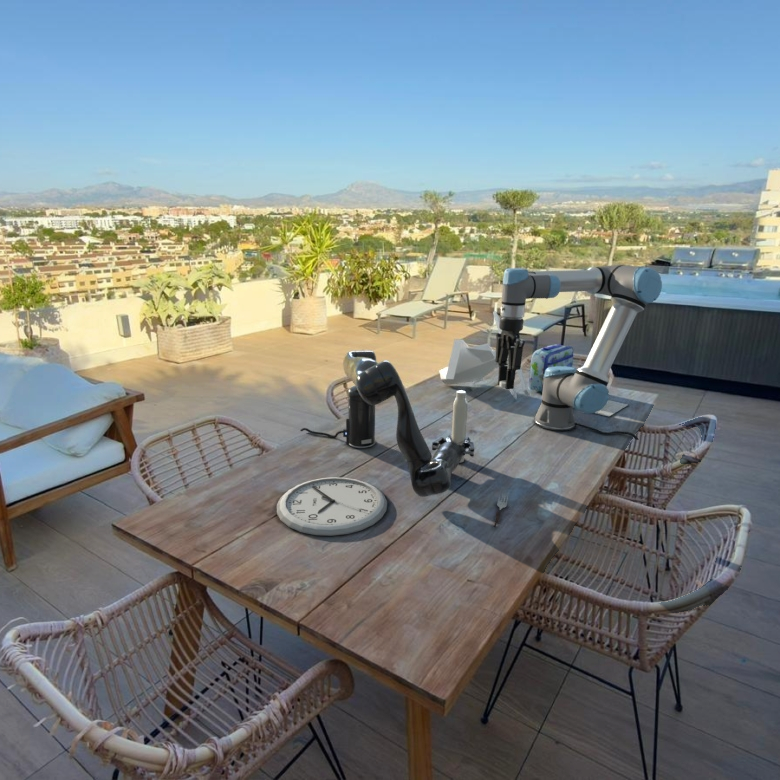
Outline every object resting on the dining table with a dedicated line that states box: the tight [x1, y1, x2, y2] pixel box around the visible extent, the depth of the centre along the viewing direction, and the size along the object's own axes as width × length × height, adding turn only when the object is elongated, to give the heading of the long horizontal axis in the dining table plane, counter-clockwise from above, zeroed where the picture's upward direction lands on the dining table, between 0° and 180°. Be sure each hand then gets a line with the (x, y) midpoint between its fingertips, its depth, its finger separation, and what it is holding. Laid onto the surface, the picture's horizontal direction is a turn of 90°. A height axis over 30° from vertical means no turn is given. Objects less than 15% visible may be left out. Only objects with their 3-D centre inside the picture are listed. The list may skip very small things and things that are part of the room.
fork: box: [493, 493, 509, 528], centre depth 139 cm, size 3×16×2 cm, turn 160°
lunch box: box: [528, 344, 574, 393], centre depth 247 cm, size 26×11×21 cm, turn 134°
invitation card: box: [594, 399, 629, 418], centre depth 226 cm, size 21×1×15 cm
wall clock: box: [276, 476, 388, 537], centre depth 142 cm, size 30×2×30 cm
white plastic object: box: [438, 310, 531, 400], centre depth 245 cm, size 37×45×31 cm
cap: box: [498, 380, 506, 389], centre depth 175 cm, size 4×4×2 cm
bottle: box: [451, 389, 469, 464], centre depth 169 cm, size 4×4×24 cm
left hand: (460, 438), depth 172 cm, fingers closed on bottle, 4 cm apart
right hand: (505, 386), depth 176 cm, fingers closed on cap, 4 cm apart
